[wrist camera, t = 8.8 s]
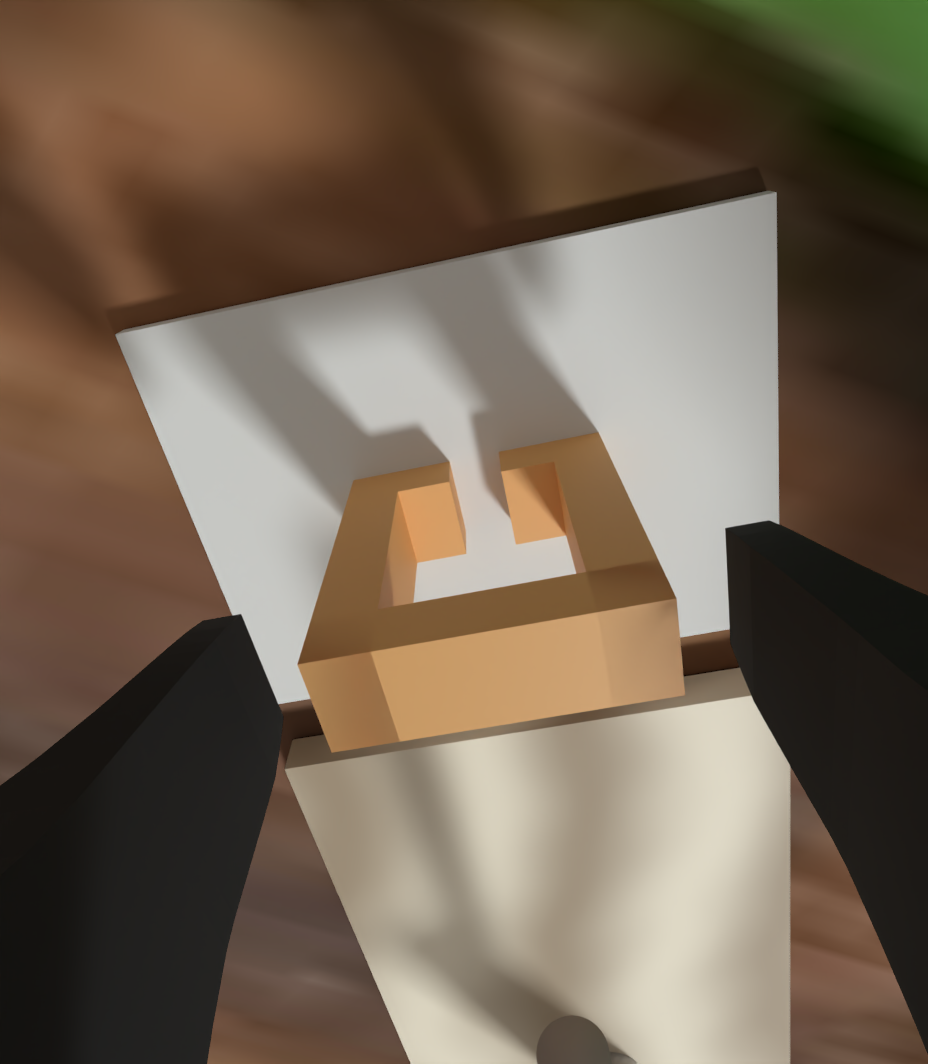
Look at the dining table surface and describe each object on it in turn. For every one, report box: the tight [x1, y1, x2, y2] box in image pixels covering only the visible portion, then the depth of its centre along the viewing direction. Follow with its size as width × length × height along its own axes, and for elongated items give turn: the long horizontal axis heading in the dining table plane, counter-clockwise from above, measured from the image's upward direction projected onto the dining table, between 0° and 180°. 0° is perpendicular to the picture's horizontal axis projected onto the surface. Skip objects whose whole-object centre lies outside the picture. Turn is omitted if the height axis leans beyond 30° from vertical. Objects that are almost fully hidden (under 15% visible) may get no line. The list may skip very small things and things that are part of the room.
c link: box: [297, 432, 685, 753], centre depth 13 cm, size 5×2×6 cm, turn 102°
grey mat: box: [115, 191, 779, 704], centre depth 16 cm, size 12×9×1 cm
